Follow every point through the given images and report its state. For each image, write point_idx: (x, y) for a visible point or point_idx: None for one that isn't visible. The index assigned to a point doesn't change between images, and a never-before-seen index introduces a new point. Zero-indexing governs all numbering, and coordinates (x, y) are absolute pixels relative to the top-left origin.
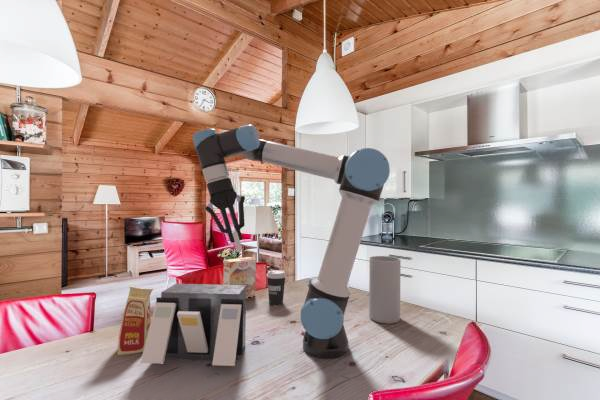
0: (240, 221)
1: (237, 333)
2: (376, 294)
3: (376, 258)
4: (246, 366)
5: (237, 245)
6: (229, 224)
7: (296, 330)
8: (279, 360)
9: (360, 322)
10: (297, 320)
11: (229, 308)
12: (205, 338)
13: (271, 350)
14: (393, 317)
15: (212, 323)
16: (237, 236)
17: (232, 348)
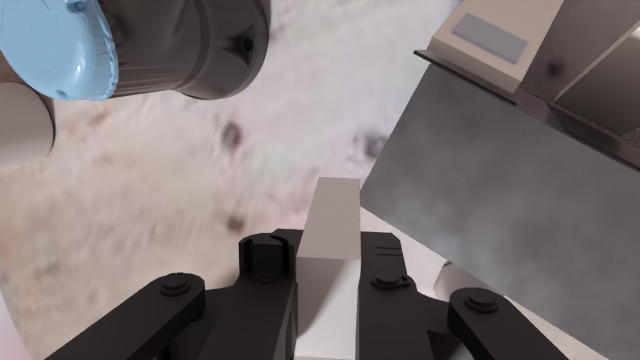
0: (165, 333)
1: None
2: None
3: None
4: (447, 13)
5: (347, 198)
6: (365, 345)
7: (245, 166)
8: (348, 10)
9: (83, 130)
10: (221, 226)
11: (486, 51)
12: (580, 77)
13: (350, 78)
14: (3, 83)
15: (546, 111)
16: (314, 229)
17: None
